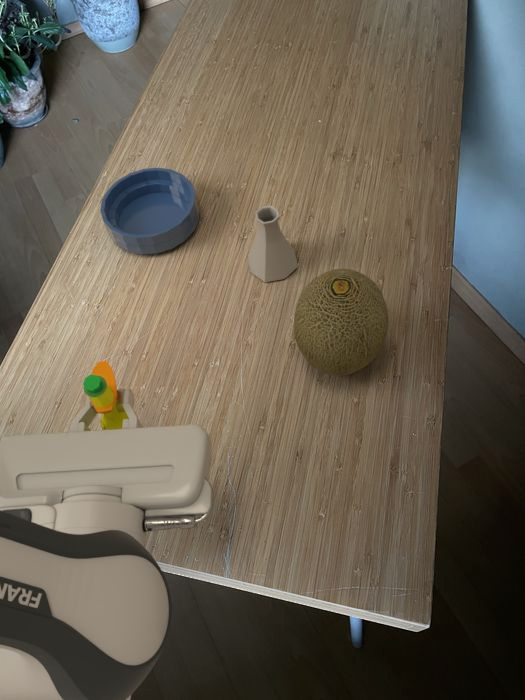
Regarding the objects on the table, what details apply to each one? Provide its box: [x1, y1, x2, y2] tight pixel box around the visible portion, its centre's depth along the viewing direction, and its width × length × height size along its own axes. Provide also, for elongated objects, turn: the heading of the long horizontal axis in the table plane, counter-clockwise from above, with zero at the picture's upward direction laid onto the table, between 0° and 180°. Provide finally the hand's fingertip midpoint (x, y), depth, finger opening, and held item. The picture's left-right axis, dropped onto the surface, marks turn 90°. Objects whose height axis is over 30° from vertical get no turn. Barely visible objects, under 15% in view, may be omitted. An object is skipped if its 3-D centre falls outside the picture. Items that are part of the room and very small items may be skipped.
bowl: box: [99, 167, 200, 255], centre depth 90 cm, size 14×14×4 cm
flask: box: [247, 204, 299, 283], centre depth 81 cm, size 7×7×10 cm
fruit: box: [293, 268, 390, 377], centre depth 70 cm, size 11×11×15 cm
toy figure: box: [82, 359, 137, 430], centre depth 59 cm, size 7×4×12 cm, turn 10°
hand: (110, 392), depth 59 cm, fingers closed on toy figure
